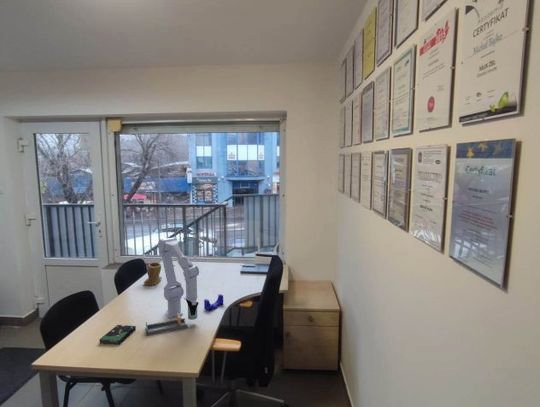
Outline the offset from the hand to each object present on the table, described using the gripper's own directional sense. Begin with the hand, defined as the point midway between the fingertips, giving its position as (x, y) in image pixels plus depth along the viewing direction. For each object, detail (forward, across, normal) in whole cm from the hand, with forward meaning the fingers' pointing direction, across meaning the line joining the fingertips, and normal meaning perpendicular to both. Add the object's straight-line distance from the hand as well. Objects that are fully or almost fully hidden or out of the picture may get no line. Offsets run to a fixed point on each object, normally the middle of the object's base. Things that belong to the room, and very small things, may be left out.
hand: (192, 312), depth 171 cm
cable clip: (+6, -16, +16) cm, 23 cm away
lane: (+6, 0, -13) cm, 15 cm away
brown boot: (+6, -76, -14) cm, 78 cm away
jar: (+3, 0, 0) cm, 3 cm away
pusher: (+5, 0, -7) cm, 9 cm away
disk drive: (+7, -1, -36) cm, 37 cm away
